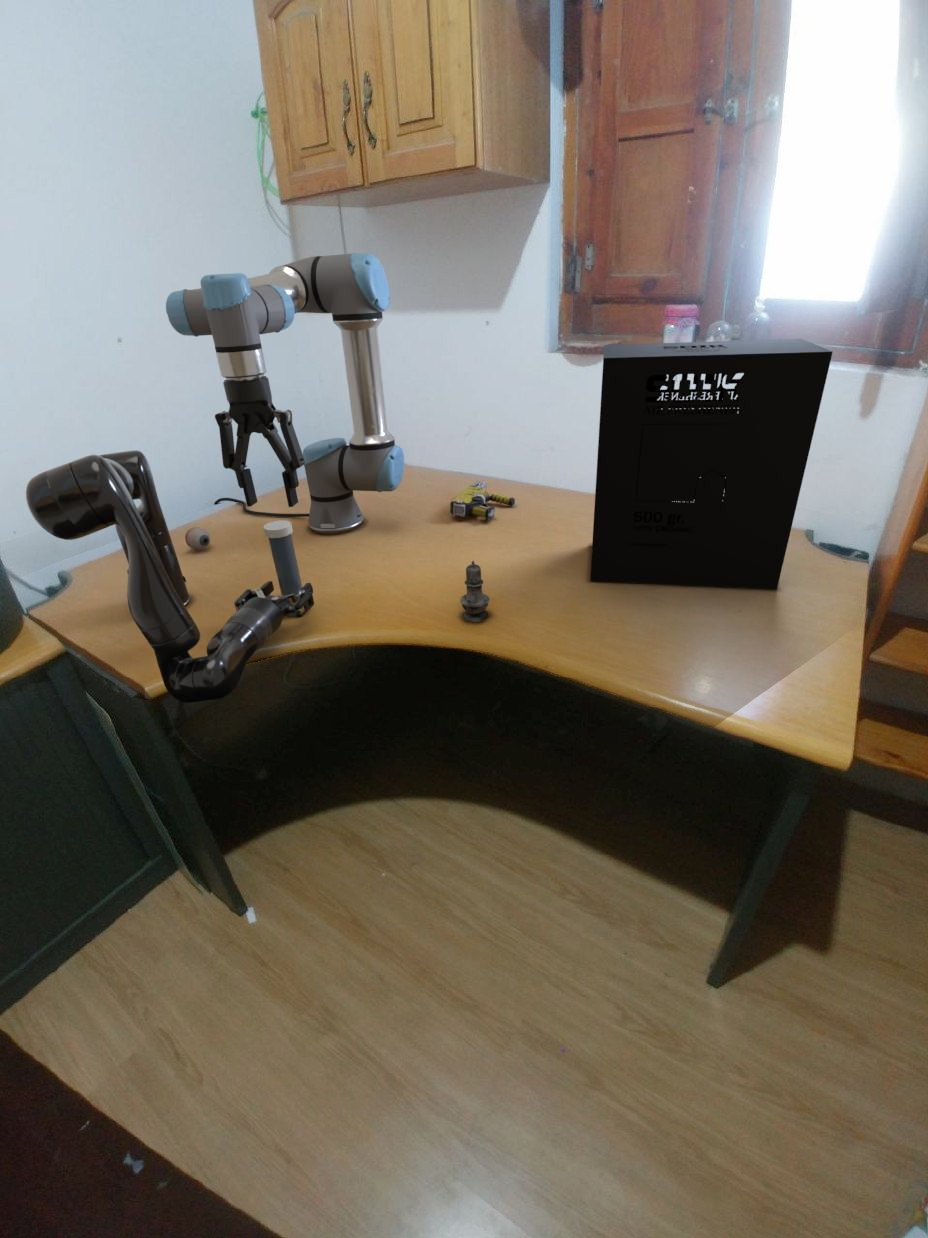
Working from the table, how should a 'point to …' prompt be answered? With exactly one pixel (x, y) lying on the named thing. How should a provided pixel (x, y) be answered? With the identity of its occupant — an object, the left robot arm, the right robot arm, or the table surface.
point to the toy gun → (477, 502)
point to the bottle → (286, 566)
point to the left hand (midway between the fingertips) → (290, 585)
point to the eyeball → (197, 538)
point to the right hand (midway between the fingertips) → (272, 504)
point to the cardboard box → (703, 460)
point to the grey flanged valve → (474, 595)
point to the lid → (278, 529)
